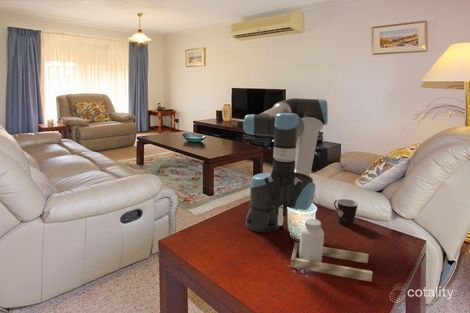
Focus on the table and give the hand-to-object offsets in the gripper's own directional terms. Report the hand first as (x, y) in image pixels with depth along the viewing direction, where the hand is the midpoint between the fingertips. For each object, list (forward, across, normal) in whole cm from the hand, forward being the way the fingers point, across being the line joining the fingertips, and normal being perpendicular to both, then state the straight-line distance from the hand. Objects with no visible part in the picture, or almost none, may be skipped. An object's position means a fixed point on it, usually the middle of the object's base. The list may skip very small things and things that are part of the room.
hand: (280, 223), depth 110 cm
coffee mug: (+13, +24, +39) cm, 48 cm away
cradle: (+12, +18, 0) cm, 22 cm away
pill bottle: (+13, +11, 0) cm, 17 cm away
